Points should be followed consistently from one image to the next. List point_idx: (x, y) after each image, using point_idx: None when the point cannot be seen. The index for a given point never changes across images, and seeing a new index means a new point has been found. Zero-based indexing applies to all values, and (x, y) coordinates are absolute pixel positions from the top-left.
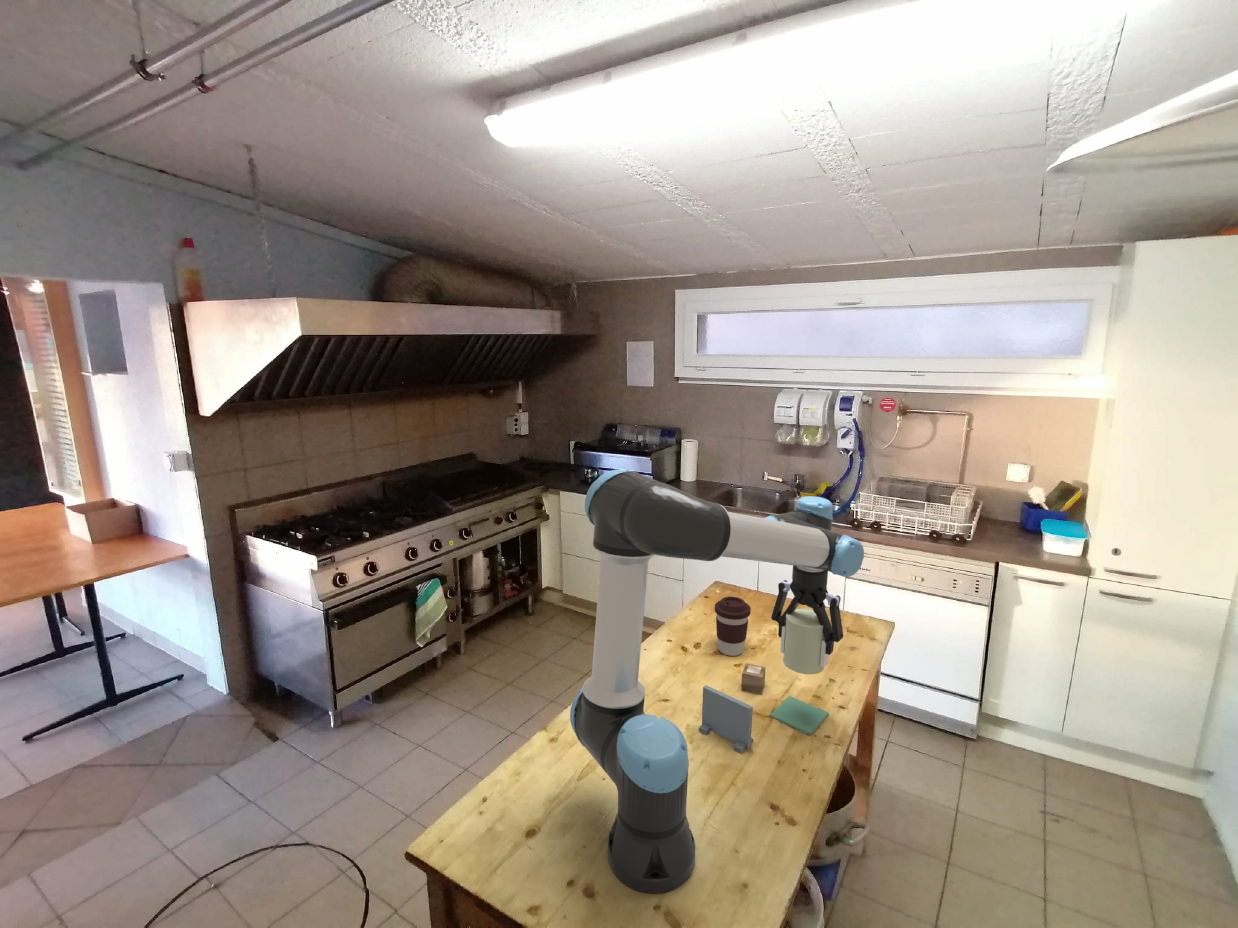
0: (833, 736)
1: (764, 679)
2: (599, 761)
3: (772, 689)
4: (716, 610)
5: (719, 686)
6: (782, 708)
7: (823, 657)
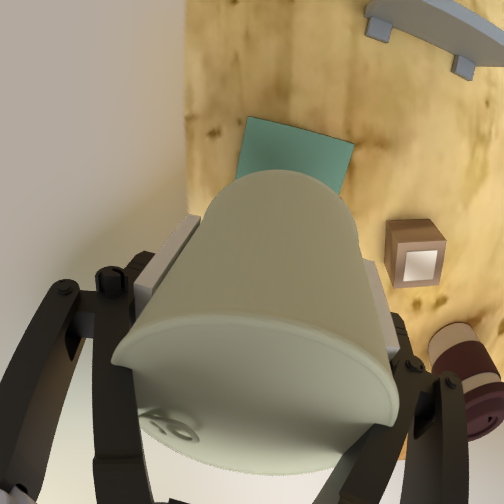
0: (202, 140)
1: (387, 265)
2: None
3: (365, 250)
4: None
5: (472, 214)
6: (331, 181)
7: (171, 235)
